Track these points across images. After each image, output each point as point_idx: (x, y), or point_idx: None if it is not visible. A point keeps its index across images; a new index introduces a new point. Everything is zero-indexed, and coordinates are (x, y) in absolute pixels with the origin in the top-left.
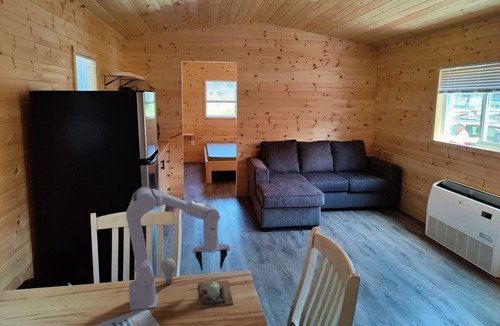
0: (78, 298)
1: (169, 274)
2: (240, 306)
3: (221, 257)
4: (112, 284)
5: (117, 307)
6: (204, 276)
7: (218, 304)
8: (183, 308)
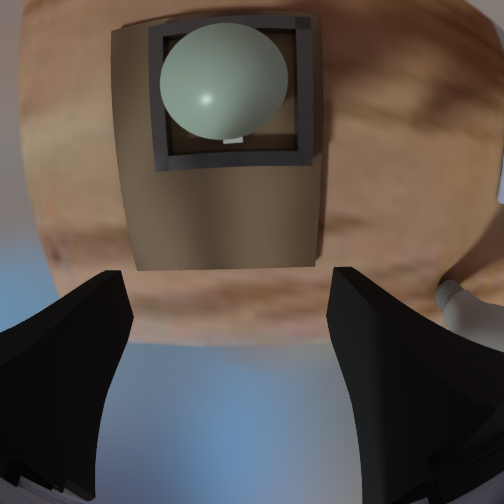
0: None
1: (478, 303)
2: (82, 24)
3: (5, 357)
4: None
5: None
6: (272, 328)
7: (201, 16)
8: (411, 48)
